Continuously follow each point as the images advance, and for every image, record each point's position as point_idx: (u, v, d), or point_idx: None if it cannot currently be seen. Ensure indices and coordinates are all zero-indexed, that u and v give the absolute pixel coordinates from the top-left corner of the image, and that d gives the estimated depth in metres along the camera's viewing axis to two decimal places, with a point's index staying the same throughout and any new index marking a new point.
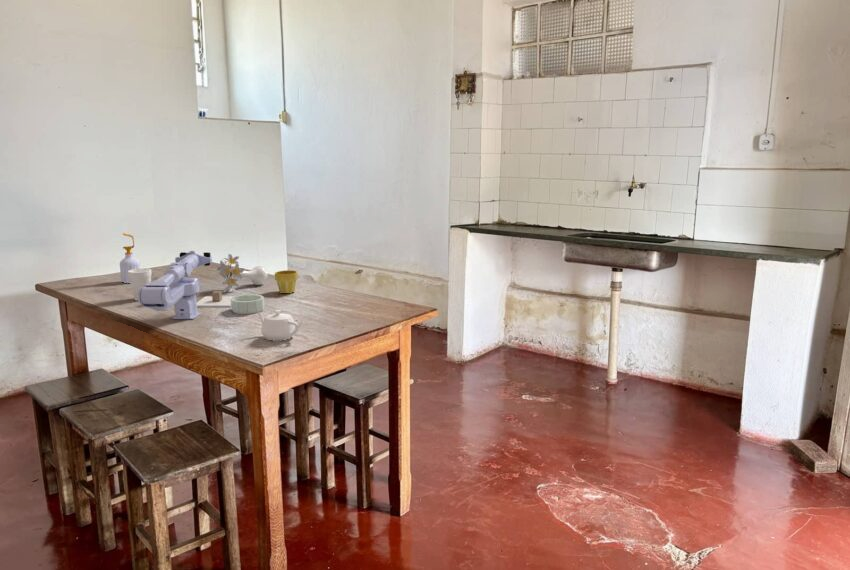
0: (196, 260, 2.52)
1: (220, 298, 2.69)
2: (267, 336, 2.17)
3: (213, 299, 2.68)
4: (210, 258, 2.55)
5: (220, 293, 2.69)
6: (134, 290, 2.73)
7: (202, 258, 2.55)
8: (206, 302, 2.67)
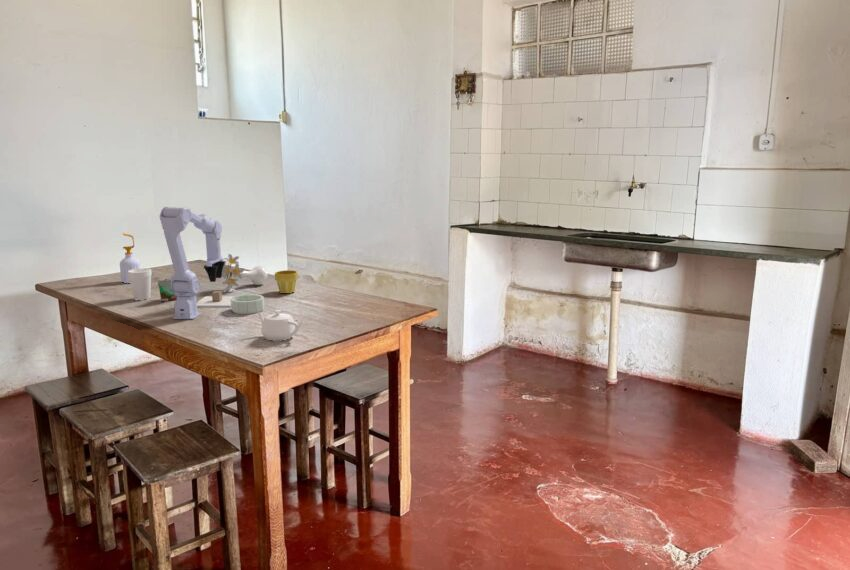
0: (213, 252, 2.63)
1: (220, 298, 2.69)
2: (267, 336, 2.17)
3: (213, 299, 2.68)
4: (210, 262, 2.59)
5: (220, 293, 2.69)
6: (134, 290, 2.73)
7: None
8: (206, 302, 2.67)
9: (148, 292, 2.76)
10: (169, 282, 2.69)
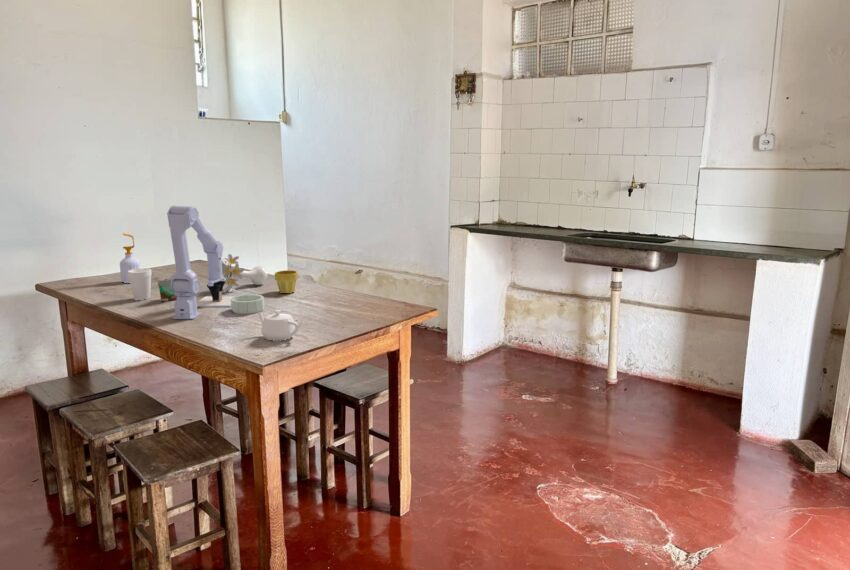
0: (215, 272, 2.65)
1: (220, 298, 2.69)
2: (267, 336, 2.17)
3: None
4: (212, 282, 2.61)
5: (220, 293, 2.69)
6: (134, 290, 2.73)
7: None
8: (206, 302, 2.67)
9: (148, 292, 2.76)
10: (169, 282, 2.69)
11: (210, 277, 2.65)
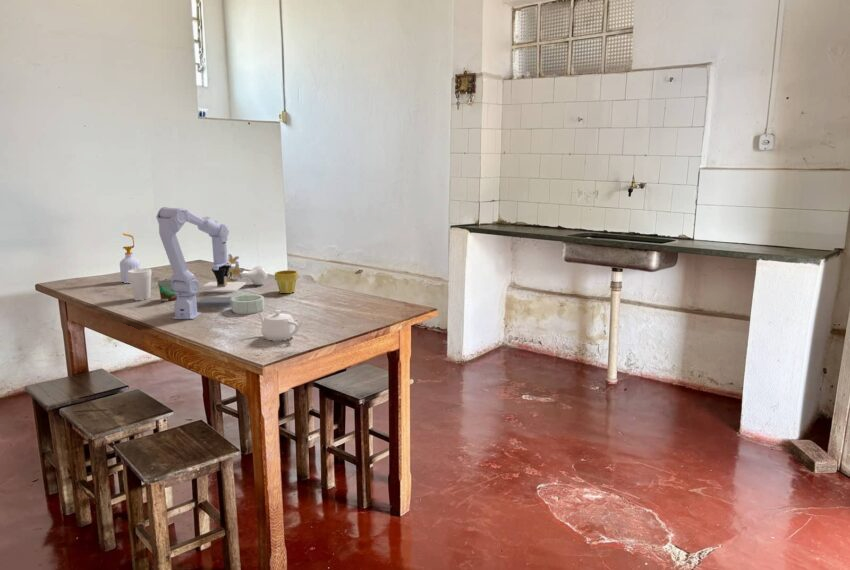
0: (220, 256, 2.60)
1: (225, 283, 2.65)
2: (267, 336, 2.17)
3: None
4: (217, 266, 2.57)
5: (225, 278, 2.65)
6: (134, 290, 2.73)
7: None
8: (211, 287, 2.63)
9: (148, 292, 2.76)
10: (169, 282, 2.69)
11: (215, 261, 2.61)
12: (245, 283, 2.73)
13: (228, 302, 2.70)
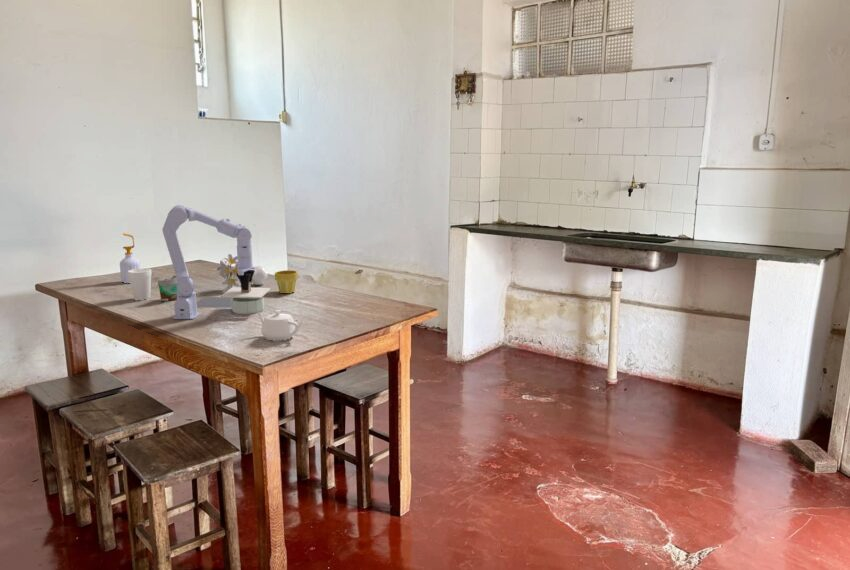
0: (245, 260, 2.50)
1: (249, 289, 2.55)
2: (267, 336, 2.17)
3: (242, 290, 2.54)
4: (242, 270, 2.47)
5: (249, 284, 2.55)
6: (134, 290, 2.73)
7: None
8: (235, 293, 2.53)
9: (148, 292, 2.76)
10: (169, 282, 2.69)
11: (240, 266, 2.51)
12: (269, 289, 2.63)
13: (228, 302, 2.70)
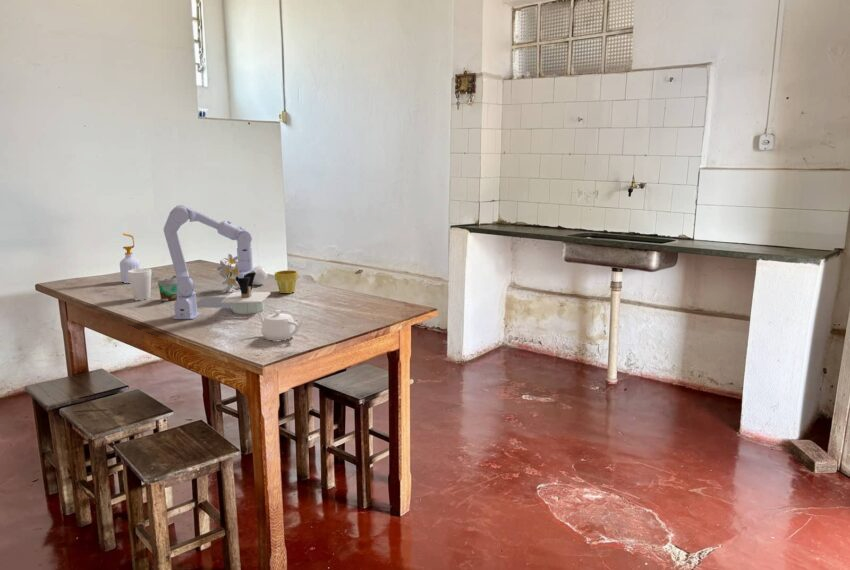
0: (245, 263, 2.51)
1: (249, 294, 2.56)
2: (267, 336, 2.17)
3: (242, 295, 2.55)
4: (242, 273, 2.47)
5: (249, 288, 2.56)
6: (134, 290, 2.73)
7: None
8: (235, 298, 2.53)
9: (148, 292, 2.76)
10: (169, 282, 2.69)
11: (240, 269, 2.51)
12: (270, 293, 2.63)
13: None
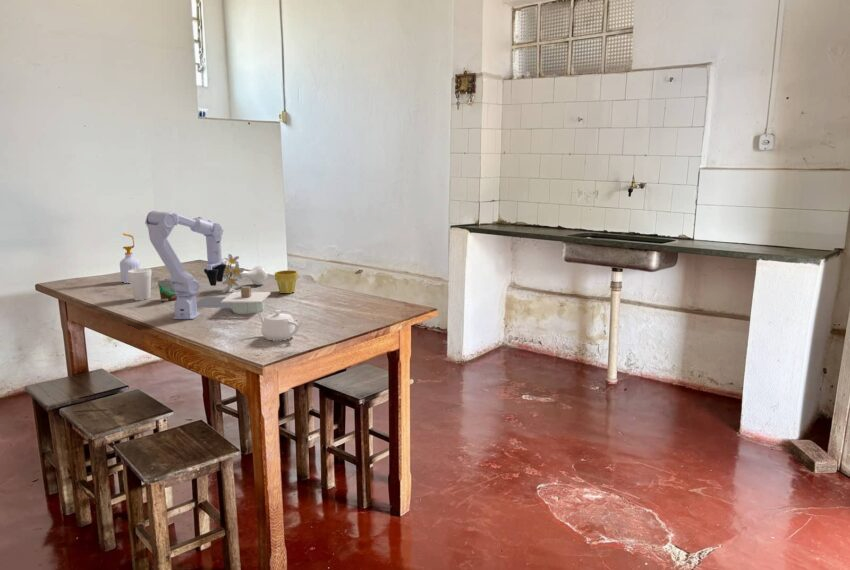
0: (214, 255, 2.56)
1: (249, 294, 2.56)
2: (267, 336, 2.17)
3: (242, 295, 2.55)
4: (210, 265, 2.52)
5: (249, 288, 2.56)
6: (134, 290, 2.73)
7: None
8: (235, 298, 2.53)
9: (148, 292, 2.76)
10: (169, 282, 2.69)
11: (209, 261, 2.56)
12: (270, 293, 2.63)
13: None
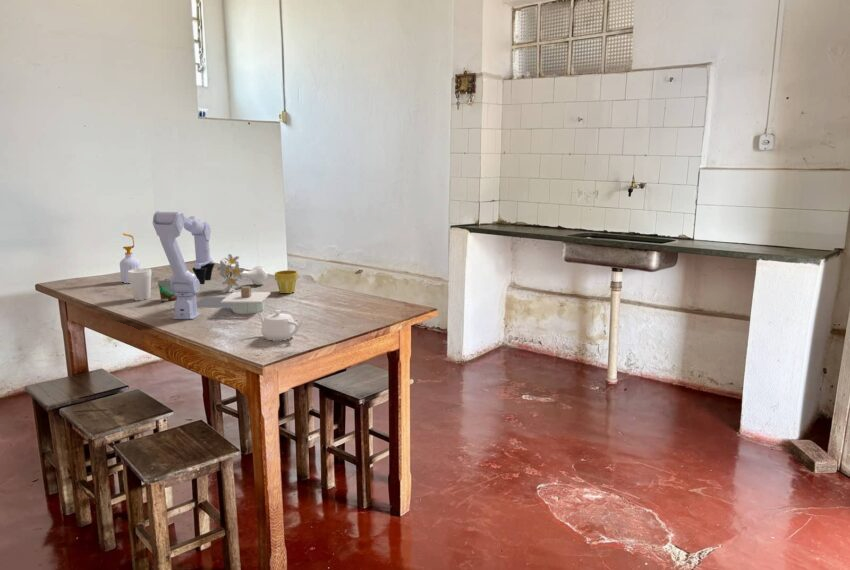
0: (202, 254, 2.58)
1: (249, 294, 2.56)
2: (267, 336, 2.17)
3: (242, 295, 2.55)
4: (199, 264, 2.54)
5: (249, 288, 2.56)
6: (134, 290, 2.73)
7: None
8: (235, 298, 2.53)
9: (148, 292, 2.76)
10: (169, 282, 2.69)
11: (197, 260, 2.59)
12: (270, 293, 2.63)
13: None
